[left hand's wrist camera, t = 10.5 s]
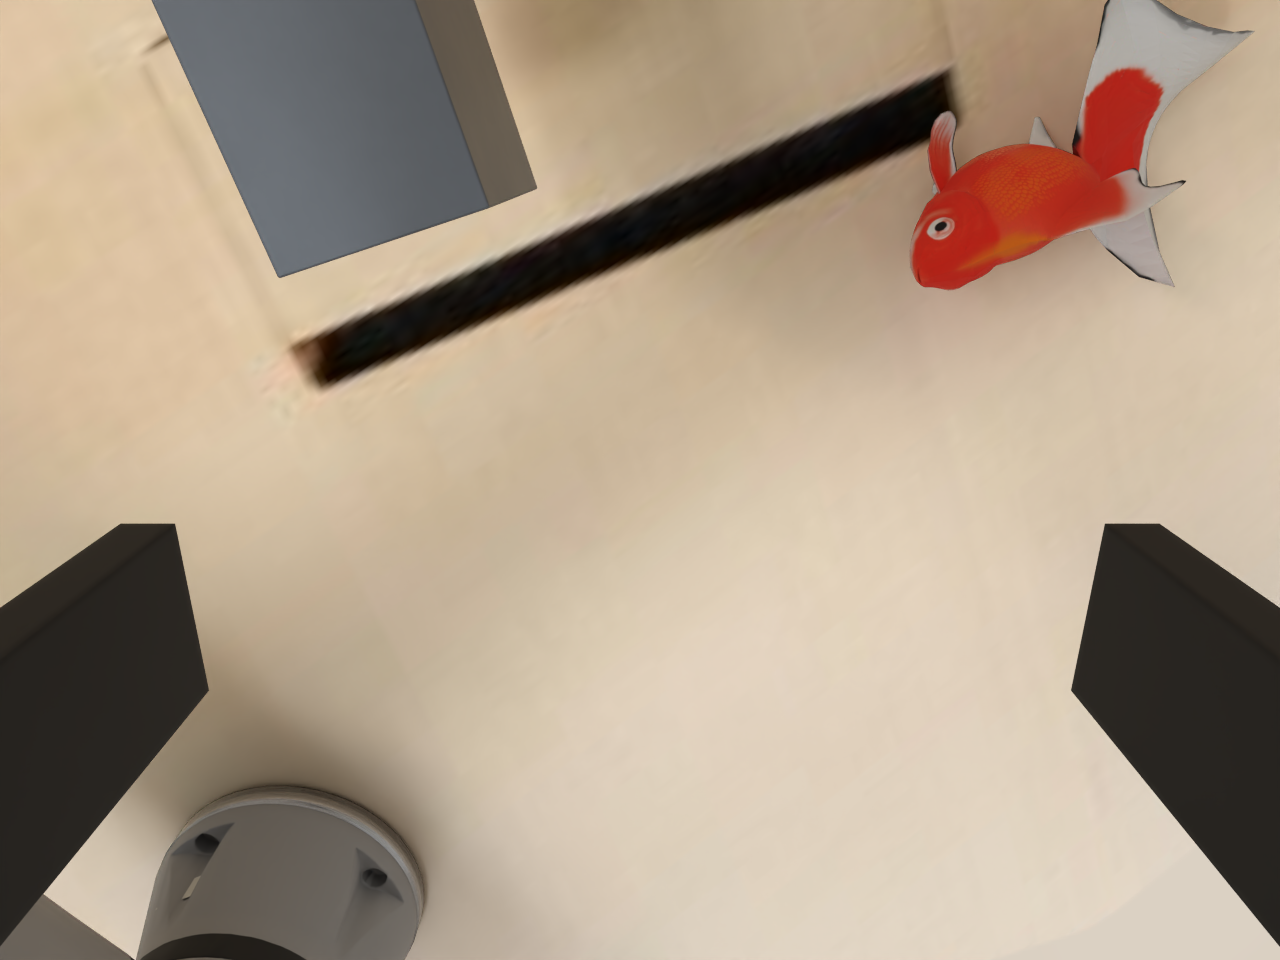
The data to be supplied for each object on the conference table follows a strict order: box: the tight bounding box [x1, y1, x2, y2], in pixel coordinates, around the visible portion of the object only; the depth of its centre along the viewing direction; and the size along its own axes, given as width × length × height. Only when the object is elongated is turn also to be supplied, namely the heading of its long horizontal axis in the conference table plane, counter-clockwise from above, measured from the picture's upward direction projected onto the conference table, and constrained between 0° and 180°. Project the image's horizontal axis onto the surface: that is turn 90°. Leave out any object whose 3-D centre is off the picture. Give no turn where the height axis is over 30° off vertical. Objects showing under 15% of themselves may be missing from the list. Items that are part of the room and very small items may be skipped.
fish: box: [910, 0, 1254, 290], centre depth 34 cm, size 11×16×10 cm
